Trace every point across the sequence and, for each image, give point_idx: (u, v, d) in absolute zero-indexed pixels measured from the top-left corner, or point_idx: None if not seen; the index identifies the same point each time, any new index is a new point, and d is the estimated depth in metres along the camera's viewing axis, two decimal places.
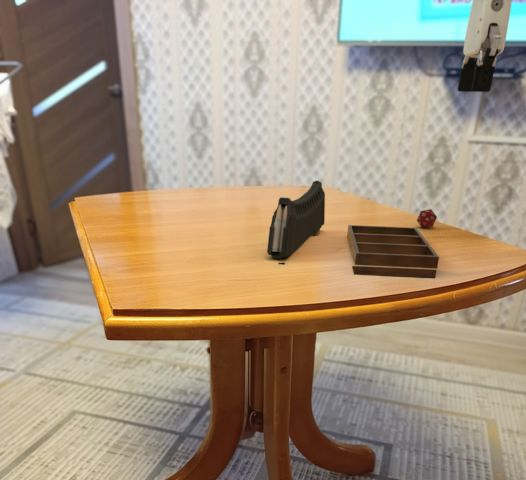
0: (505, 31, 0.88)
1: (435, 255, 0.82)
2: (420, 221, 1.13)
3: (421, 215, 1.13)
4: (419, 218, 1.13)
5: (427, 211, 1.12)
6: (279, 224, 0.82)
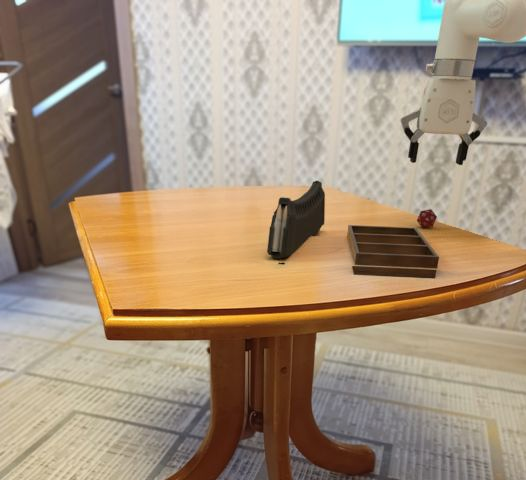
0: (422, 114, 1.02)
1: (435, 255, 0.82)
2: (420, 221, 1.13)
3: (421, 215, 1.13)
4: (419, 218, 1.13)
5: (427, 211, 1.12)
6: (279, 224, 0.82)
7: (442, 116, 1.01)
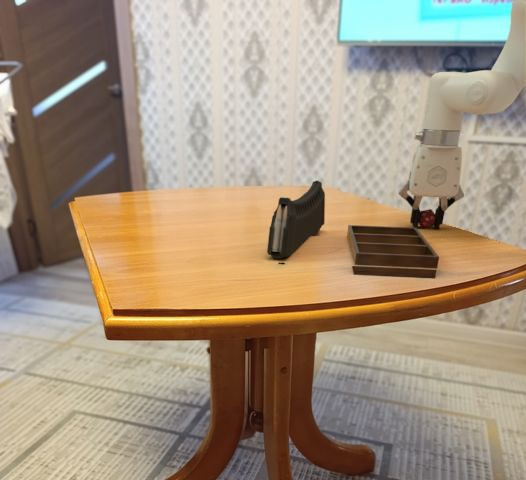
0: (412, 179, 1.08)
1: (435, 255, 0.82)
2: (420, 221, 1.13)
3: (421, 215, 1.13)
4: (419, 218, 1.13)
5: (427, 211, 1.12)
6: (279, 224, 0.82)
7: (431, 181, 1.07)
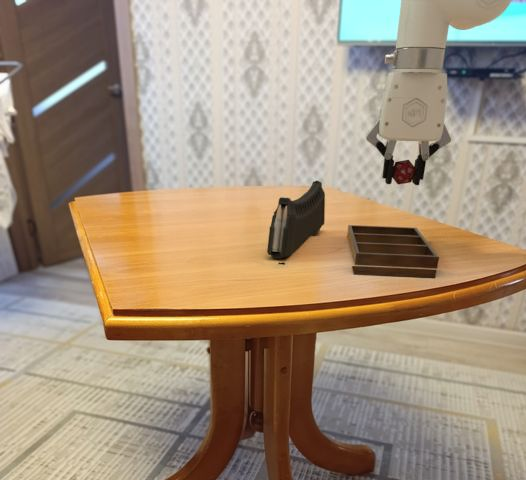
0: (382, 117, 0.82)
1: (435, 255, 0.82)
2: (395, 175, 0.87)
3: (396, 167, 0.87)
4: (393, 171, 0.87)
5: (403, 162, 0.87)
6: (279, 224, 0.82)
7: (407, 119, 0.81)
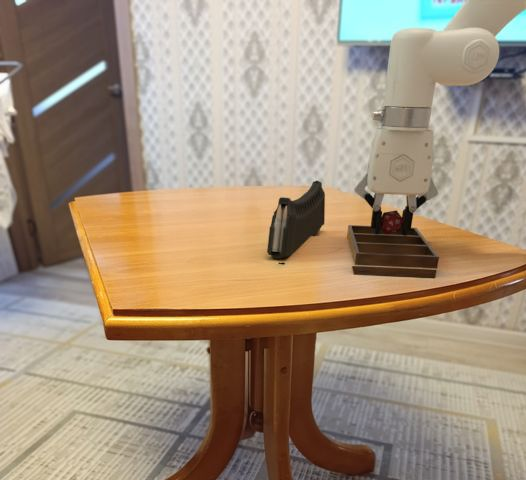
0: (370, 171, 0.83)
1: (435, 255, 0.82)
2: (383, 225, 0.88)
3: (384, 218, 0.88)
4: (381, 222, 0.89)
5: (391, 212, 0.88)
6: (279, 224, 0.82)
7: (394, 174, 0.83)
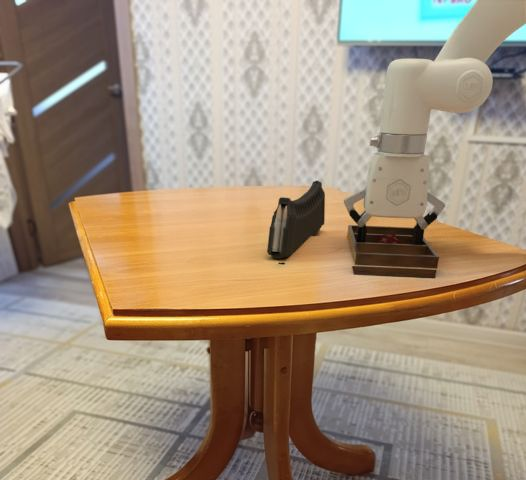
0: (367, 195, 0.85)
1: (435, 255, 0.82)
2: None
3: (381, 240, 0.90)
4: None
5: (388, 235, 0.90)
6: (279, 224, 0.82)
7: (391, 198, 0.85)
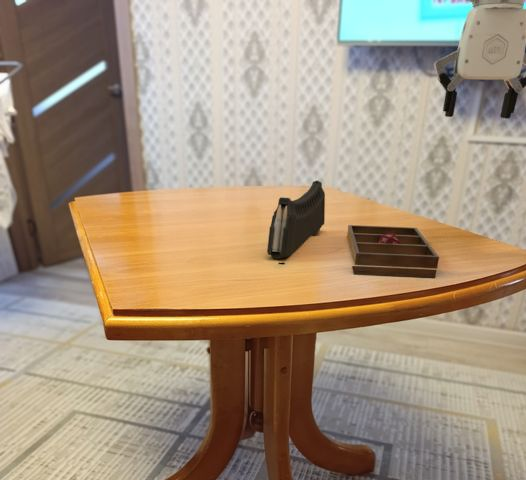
0: (462, 54, 0.83)
1: (435, 255, 0.82)
2: None
3: (381, 240, 0.90)
4: None
5: (388, 235, 0.90)
6: (279, 224, 0.82)
7: (487, 56, 0.83)
